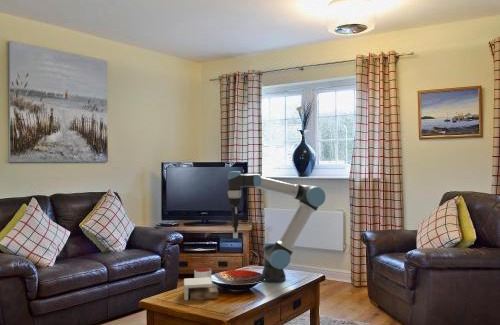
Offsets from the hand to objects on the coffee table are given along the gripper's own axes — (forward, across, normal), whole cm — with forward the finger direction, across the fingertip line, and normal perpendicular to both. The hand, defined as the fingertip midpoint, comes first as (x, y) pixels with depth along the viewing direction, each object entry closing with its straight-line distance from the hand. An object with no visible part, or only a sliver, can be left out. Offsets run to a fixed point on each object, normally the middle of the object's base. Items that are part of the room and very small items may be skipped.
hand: (235, 237), depth 270 cm
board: (+30, +13, -20) cm, 38 cm away
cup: (+30, -6, -19) cm, 36 cm away
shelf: (+29, +11, -23) cm, 39 cm away
